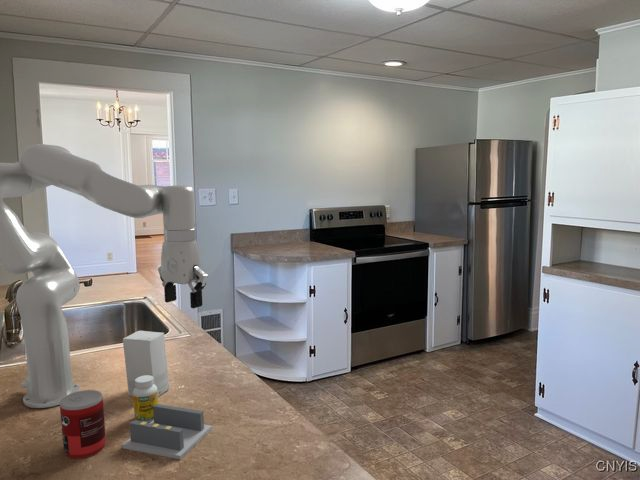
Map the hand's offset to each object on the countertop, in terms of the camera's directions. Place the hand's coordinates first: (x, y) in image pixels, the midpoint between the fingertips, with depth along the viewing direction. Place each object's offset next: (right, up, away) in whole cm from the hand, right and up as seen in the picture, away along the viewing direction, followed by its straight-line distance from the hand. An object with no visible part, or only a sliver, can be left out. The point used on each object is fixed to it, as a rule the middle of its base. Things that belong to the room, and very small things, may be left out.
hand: (183, 304), depth 121 cm
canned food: (-14, -27, -21) cm, 37 cm away
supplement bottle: (-6, -25, -9) cm, 28 cm away
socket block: (+2, -26, -18) cm, 32 cm away
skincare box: (-10, -24, +4) cm, 26 cm away
